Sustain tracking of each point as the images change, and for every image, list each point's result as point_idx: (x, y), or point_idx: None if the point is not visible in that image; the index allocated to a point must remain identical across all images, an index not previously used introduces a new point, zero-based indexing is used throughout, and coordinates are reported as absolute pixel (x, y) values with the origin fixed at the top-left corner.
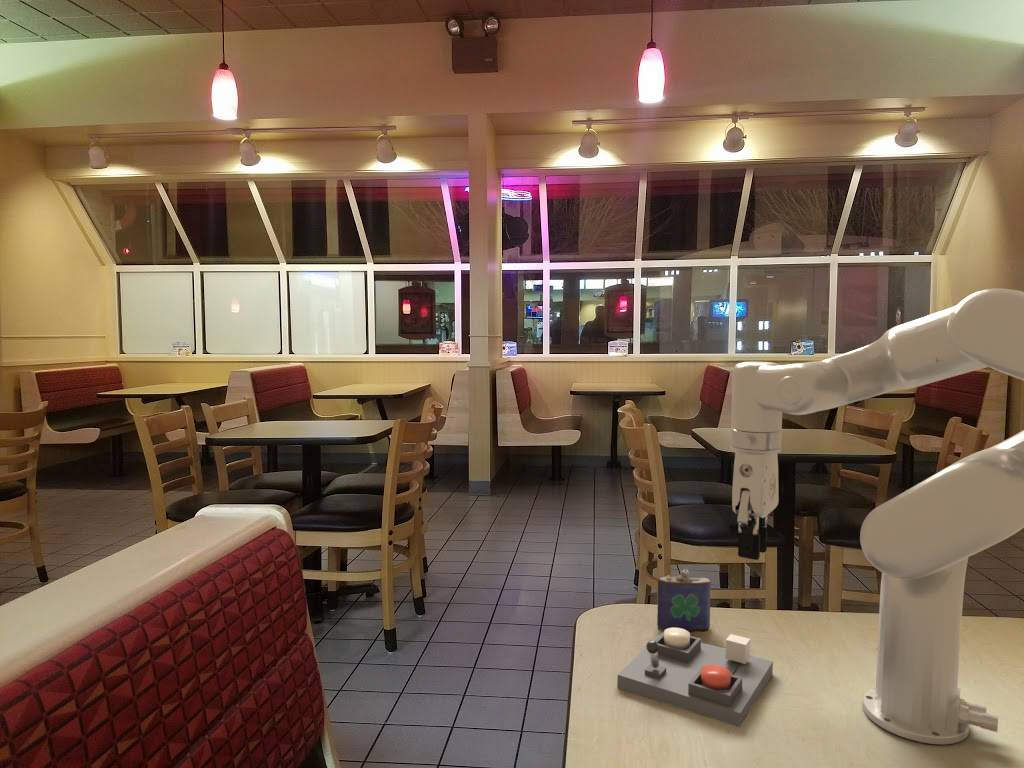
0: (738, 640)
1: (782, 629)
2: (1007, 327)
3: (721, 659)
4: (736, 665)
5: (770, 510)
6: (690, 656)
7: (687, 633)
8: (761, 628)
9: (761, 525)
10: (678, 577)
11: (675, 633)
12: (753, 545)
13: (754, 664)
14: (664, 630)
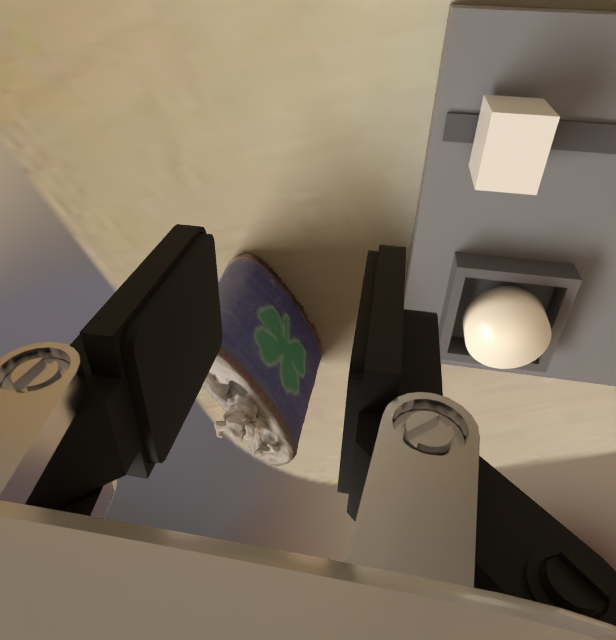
0: (527, 151)
1: (92, 47)
2: None
3: None
4: None
5: (198, 603)
6: (553, 267)
7: (496, 312)
8: (134, 116)
9: (103, 393)
10: (259, 431)
11: (511, 340)
12: (408, 344)
13: (507, 68)
14: (320, 346)
